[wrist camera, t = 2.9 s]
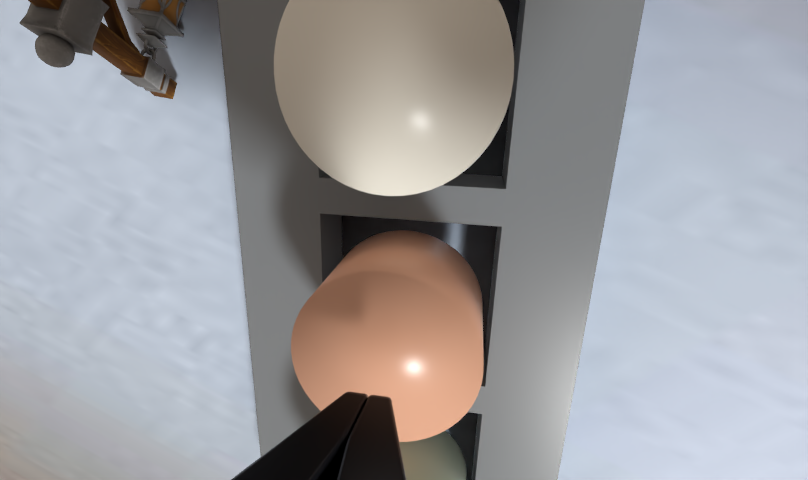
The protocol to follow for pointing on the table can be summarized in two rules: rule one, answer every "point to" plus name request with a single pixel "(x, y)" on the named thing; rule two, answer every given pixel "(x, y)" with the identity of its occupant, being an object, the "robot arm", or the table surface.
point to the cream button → (393, 87)
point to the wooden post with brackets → (106, 36)
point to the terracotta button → (396, 332)
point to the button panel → (448, 220)
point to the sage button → (433, 459)
